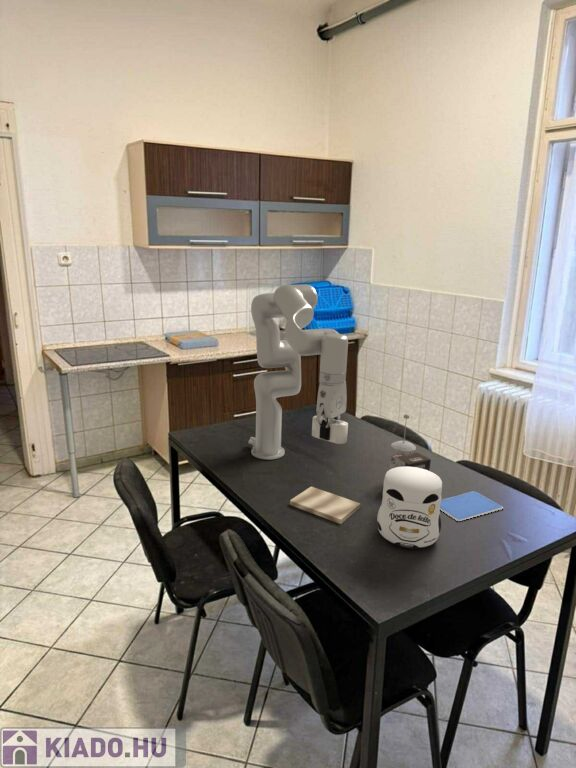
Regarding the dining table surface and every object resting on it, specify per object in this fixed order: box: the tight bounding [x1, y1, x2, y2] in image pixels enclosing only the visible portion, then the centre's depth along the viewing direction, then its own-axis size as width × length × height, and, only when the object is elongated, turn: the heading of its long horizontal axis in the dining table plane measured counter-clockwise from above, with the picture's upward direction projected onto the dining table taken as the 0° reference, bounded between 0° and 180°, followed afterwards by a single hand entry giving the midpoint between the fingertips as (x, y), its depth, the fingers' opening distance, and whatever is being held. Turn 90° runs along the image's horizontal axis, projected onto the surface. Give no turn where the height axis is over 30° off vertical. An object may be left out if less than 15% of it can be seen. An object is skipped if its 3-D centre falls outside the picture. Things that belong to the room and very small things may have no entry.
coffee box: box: [394, 452, 432, 471], centre depth 166 cm, size 9×6×16 cm
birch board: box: [289, 486, 361, 525], centre depth 165 cm, size 18×12×2 cm, turn 55°
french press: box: [388, 413, 417, 471], centre depth 179 cm, size 10×12×25 cm
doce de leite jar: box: [376, 466, 443, 550], centre depth 148 cm, size 17×17×18 cm
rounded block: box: [311, 415, 349, 445], centre depth 158 cm, size 11×4×6 cm, turn 55°
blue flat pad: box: [440, 490, 504, 522], centre depth 168 cm, size 19×13×1 cm, turn 117°
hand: (329, 435), depth 159 cm, fingers closed on rounded block, 4 cm apart
